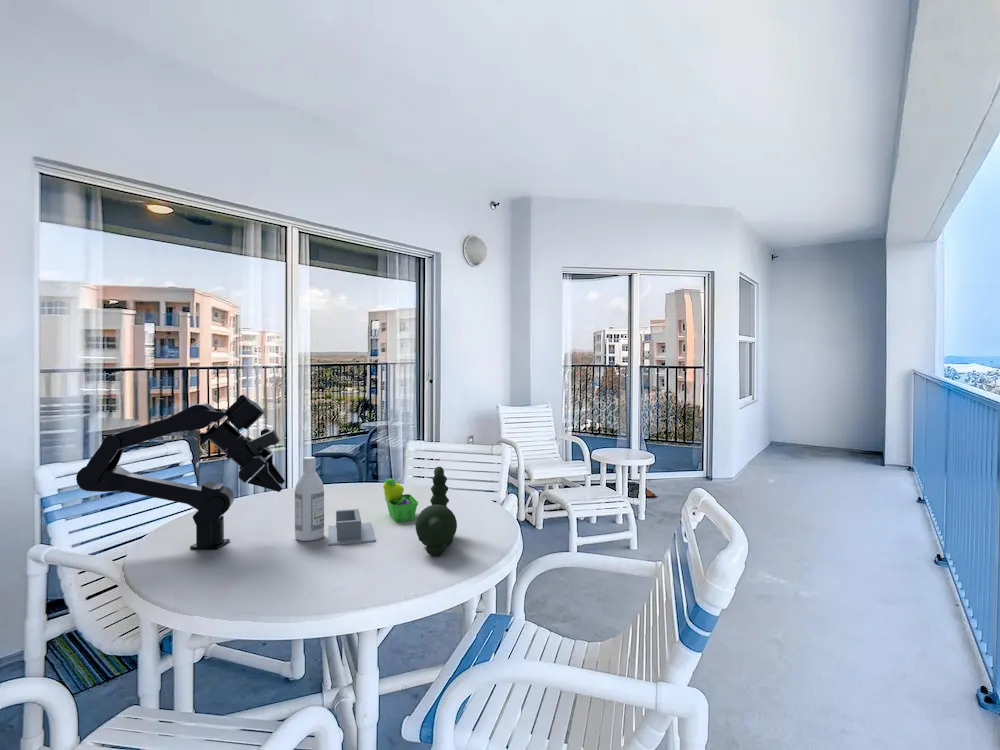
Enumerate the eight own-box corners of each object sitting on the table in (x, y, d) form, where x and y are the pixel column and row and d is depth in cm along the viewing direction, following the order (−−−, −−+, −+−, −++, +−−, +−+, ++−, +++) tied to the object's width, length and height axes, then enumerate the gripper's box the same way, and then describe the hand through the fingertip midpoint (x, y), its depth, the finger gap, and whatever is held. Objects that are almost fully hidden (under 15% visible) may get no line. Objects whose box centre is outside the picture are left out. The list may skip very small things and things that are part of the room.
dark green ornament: (421, 539, 148) (412, 563, 123) (421, 464, 150) (412, 474, 125) (457, 538, 149) (456, 562, 124) (458, 464, 150) (456, 474, 125)
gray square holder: (328, 545, 137) (328, 525, 137) (328, 527, 153) (328, 509, 153) (375, 541, 140) (375, 521, 140) (370, 524, 156) (370, 506, 156)
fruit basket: (419, 520, 159) (419, 480, 159) (387, 524, 156) (387, 482, 156) (410, 511, 170) (410, 472, 170) (379, 513, 167) (379, 475, 166)
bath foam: (326, 533, 147) (326, 455, 147) (321, 541, 141) (320, 459, 140) (298, 533, 147) (298, 455, 146) (291, 542, 140) (291, 460, 140)
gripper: (253, 422, 131) (305, 468, 134) (262, 415, 149) (307, 456, 152) (215, 459, 129) (269, 504, 132) (229, 447, 146) (276, 488, 150)
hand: (282, 486), depth 142 cm, fingers open, 9 cm apart
